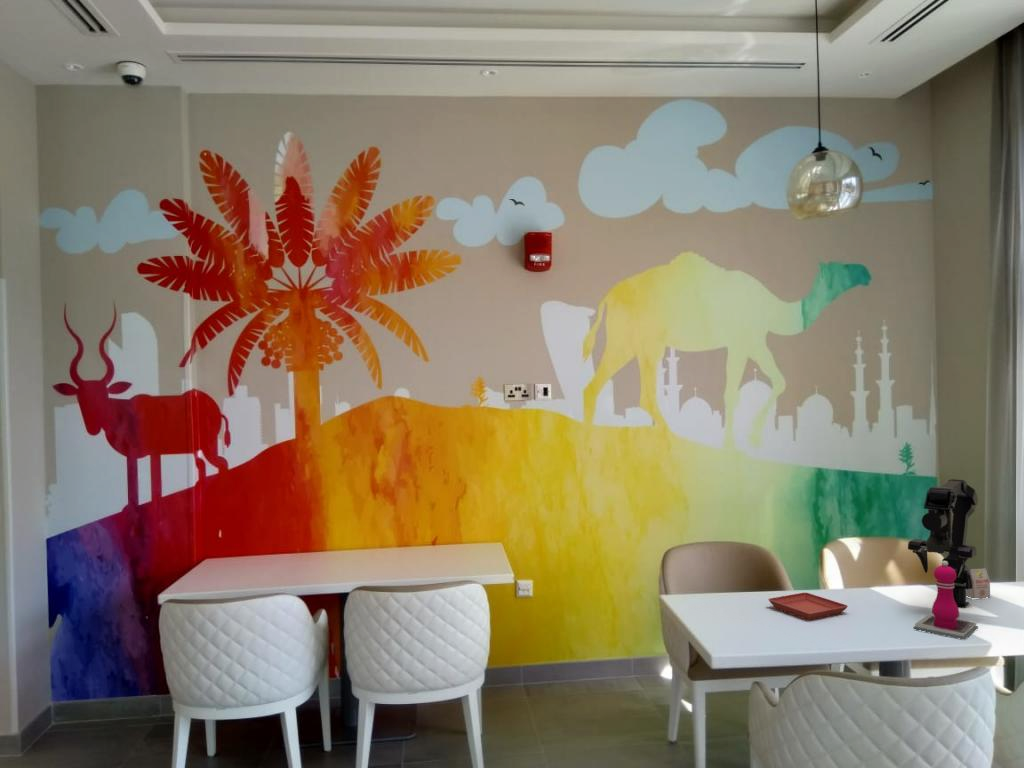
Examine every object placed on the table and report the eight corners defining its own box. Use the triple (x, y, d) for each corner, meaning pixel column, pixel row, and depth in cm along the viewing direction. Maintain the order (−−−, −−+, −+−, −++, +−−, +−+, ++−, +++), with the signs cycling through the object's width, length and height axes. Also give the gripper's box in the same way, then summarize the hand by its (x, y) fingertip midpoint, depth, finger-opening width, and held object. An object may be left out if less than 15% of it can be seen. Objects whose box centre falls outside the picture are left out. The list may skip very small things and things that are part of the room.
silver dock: (927, 619, 246) (927, 613, 246) (977, 628, 237) (977, 622, 237) (913, 629, 236) (913, 623, 236) (965, 640, 226) (965, 633, 226)
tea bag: (965, 596, 271) (964, 568, 271) (981, 595, 272) (981, 567, 272) (973, 599, 268) (972, 570, 268) (990, 598, 269) (989, 569, 269)
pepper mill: (964, 628, 235) (964, 562, 235) (947, 631, 232) (946, 564, 232) (943, 621, 241) (942, 557, 241) (926, 624, 239) (925, 559, 239)
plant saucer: (849, 615, 253) (849, 605, 253) (809, 623, 245) (809, 612, 245) (805, 601, 269) (805, 591, 269) (766, 608, 261) (766, 598, 261)
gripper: (902, 526, 251) (902, 574, 251) (966, 533, 238) (967, 584, 238) (913, 521, 259) (913, 568, 259) (976, 528, 246) (977, 577, 246)
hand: (941, 574), depth 251 cm, fingers open, 9 cm apart
